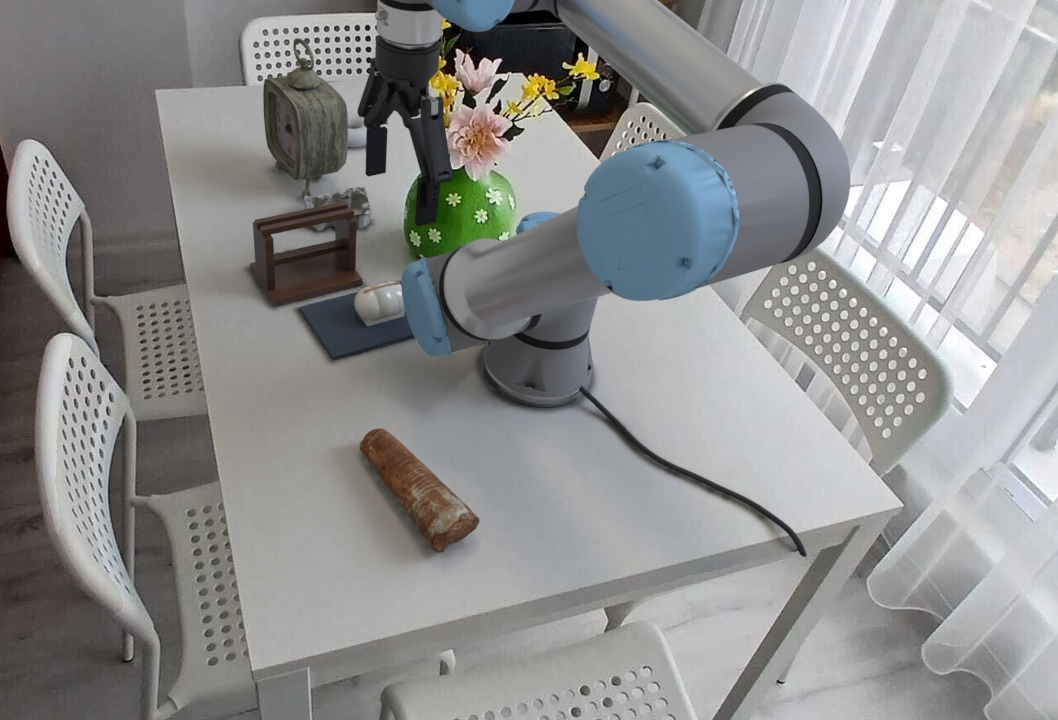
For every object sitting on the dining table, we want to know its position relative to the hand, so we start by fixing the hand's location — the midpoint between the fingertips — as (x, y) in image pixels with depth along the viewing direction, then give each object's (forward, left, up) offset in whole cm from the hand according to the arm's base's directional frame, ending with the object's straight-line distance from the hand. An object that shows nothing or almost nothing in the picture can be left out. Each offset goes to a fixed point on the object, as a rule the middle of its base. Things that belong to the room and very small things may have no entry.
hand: (399, 197), depth 117 cm
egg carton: (+27, -3, -20) cm, 34 cm away
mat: (+1, +2, -20) cm, 20 cm away
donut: (+52, -17, -20) cm, 58 cm away
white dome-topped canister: (0, +2, -19) cm, 19 cm away
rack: (+14, +8, -20) cm, 25 cm away
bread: (-31, +14, -20) cm, 40 cm away
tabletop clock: (+40, -3, -20) cm, 45 cm away
